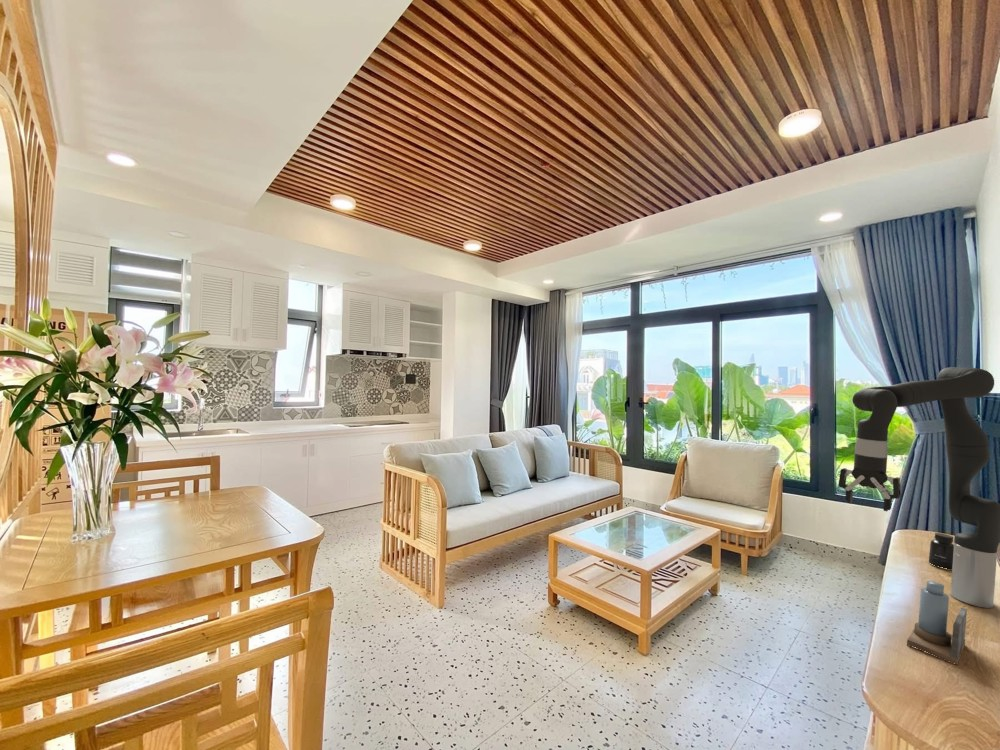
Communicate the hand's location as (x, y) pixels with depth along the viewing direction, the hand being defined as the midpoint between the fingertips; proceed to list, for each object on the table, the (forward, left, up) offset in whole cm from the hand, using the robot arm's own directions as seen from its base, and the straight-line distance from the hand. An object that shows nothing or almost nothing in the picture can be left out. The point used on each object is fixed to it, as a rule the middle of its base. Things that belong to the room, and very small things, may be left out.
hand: (867, 506), depth 131 cm
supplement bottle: (-63, +10, -30) cm, 71 cm away
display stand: (+9, +18, -30) cm, 36 cm away
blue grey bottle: (+9, +17, -27) cm, 33 cm away
